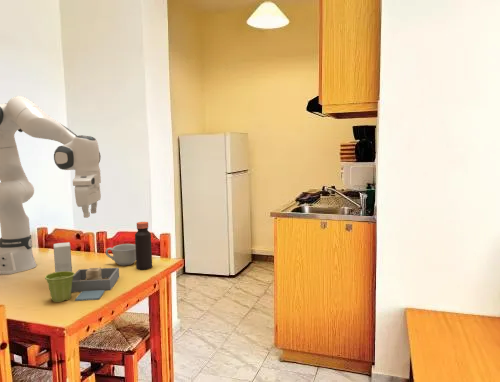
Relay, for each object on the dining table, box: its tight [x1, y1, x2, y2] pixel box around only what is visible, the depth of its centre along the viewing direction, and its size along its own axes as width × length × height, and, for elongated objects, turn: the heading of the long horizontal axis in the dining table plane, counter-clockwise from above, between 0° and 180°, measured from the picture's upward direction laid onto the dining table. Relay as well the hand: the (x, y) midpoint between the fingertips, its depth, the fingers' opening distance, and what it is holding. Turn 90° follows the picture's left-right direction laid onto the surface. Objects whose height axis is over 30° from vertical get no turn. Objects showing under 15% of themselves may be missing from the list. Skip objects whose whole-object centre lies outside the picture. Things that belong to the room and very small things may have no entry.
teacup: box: [104, 243, 136, 267], centre depth 190 cm, size 14×11×8 cm
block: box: [85, 267, 103, 280], centre depth 162 cm, size 4×4×6 cm
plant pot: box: [44, 271, 76, 303], centre depth 147 cm, size 9×9×9 cm
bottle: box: [134, 221, 153, 271], centre depth 182 cm, size 7×7×20 cm
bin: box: [71, 267, 120, 293], centre depth 162 cm, size 16×16×4 cm
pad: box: [74, 290, 105, 302], centre depth 149 cm, size 8×8×1 cm
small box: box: [53, 241, 73, 273], centre depth 174 cm, size 8×6×13 cm
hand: (90, 215), depth 159 cm, fingers open, 8 cm apart
